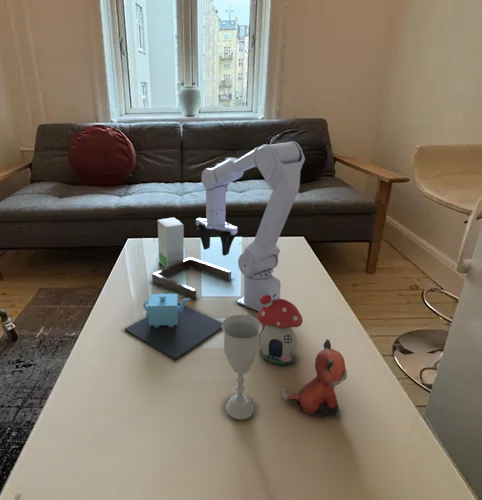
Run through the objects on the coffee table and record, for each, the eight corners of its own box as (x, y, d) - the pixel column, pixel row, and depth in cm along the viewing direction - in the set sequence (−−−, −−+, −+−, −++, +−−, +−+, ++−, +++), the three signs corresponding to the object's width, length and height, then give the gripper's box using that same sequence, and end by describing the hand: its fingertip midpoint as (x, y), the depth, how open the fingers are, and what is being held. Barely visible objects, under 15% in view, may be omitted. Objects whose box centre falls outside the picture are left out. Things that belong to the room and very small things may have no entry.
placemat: (225, 326, 97) (225, 324, 97) (175, 360, 85) (175, 358, 85) (175, 302, 109) (175, 301, 109) (124, 330, 97) (124, 328, 97)
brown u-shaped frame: (231, 279, 121) (231, 270, 120) (193, 300, 110) (193, 291, 109) (190, 264, 133) (190, 256, 132) (152, 282, 121) (151, 273, 120)
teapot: (191, 314, 102) (190, 289, 99) (191, 327, 96) (190, 301, 93) (145, 315, 102) (143, 290, 99) (143, 328, 96) (141, 302, 94)
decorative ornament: (252, 357, 85) (254, 297, 80) (262, 341, 91) (265, 284, 85) (293, 370, 81) (299, 308, 75) (301, 353, 86) (307, 294, 81)
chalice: (257, 426, 68) (261, 340, 61) (218, 421, 69) (218, 336, 62) (258, 396, 74) (262, 316, 68) (223, 392, 76) (224, 313, 69)
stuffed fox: (277, 387, 77) (281, 336, 72) (335, 389, 75) (343, 338, 71) (282, 416, 70) (287, 362, 65) (346, 419, 69) (355, 364, 64)
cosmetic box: (158, 261, 136) (156, 219, 130) (176, 258, 138) (174, 216, 133) (167, 270, 129) (165, 226, 123) (185, 266, 131) (184, 223, 126)
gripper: (188, 207, 116) (189, 249, 121) (226, 216, 106) (226, 261, 111) (204, 202, 120) (204, 243, 125) (242, 210, 111) (241, 254, 116)
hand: (215, 251), depth 119 cm, fingers open, 7 cm apart
